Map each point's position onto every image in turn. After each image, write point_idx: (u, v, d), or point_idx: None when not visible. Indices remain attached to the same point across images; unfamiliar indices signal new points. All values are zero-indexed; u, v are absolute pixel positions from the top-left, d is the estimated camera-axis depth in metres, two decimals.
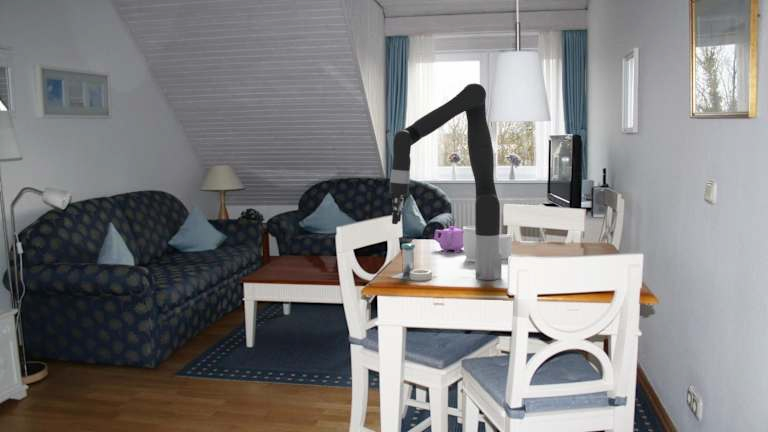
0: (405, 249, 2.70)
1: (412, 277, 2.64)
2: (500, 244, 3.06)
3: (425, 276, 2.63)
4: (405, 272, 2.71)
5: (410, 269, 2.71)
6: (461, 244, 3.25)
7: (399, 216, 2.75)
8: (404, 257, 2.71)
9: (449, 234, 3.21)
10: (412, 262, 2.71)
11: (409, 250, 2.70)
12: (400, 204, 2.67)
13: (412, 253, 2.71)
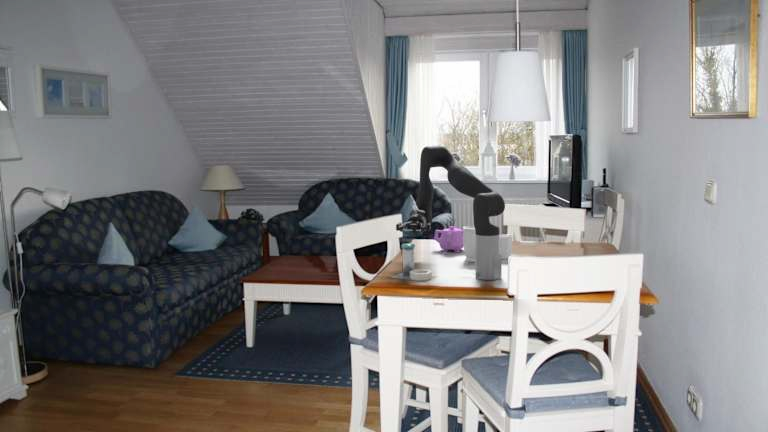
0: (405, 249, 2.70)
1: (412, 277, 2.64)
2: (500, 244, 3.06)
3: (425, 276, 2.63)
4: (405, 272, 2.71)
5: (410, 269, 2.71)
6: (461, 244, 3.25)
7: None
8: (404, 257, 2.71)
9: (449, 234, 3.21)
10: (412, 262, 2.71)
11: (409, 250, 2.70)
12: None
13: (412, 253, 2.71)
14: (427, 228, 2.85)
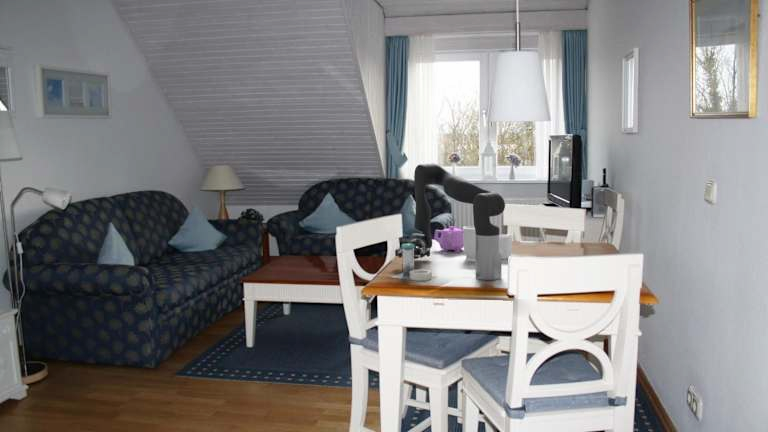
0: (405, 249, 2.70)
1: (412, 277, 2.64)
2: (500, 244, 3.06)
3: (425, 276, 2.63)
4: (405, 272, 2.71)
5: (410, 269, 2.71)
6: (461, 244, 3.25)
7: None
8: (404, 257, 2.71)
9: (449, 234, 3.21)
10: (412, 262, 2.71)
11: (409, 250, 2.70)
12: None
13: (412, 253, 2.71)
14: (426, 254, 2.81)
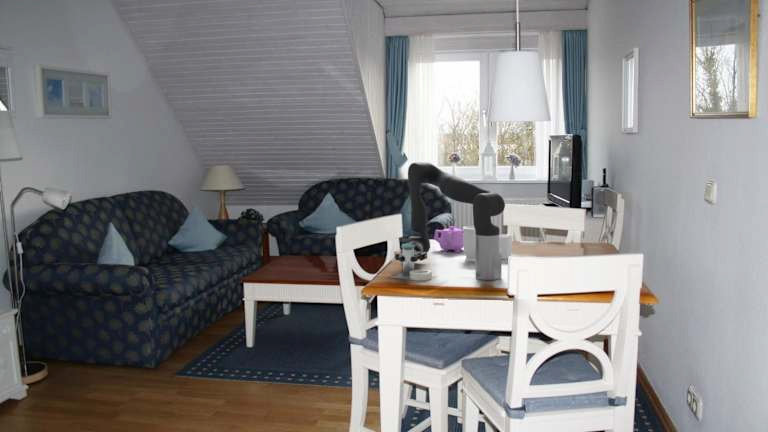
0: (405, 249, 2.70)
1: (412, 277, 2.64)
2: (500, 244, 3.06)
3: (425, 276, 2.63)
4: (405, 272, 2.71)
5: (410, 269, 2.71)
6: (461, 244, 3.25)
7: None
8: (404, 257, 2.71)
9: (449, 234, 3.21)
10: (412, 262, 2.71)
11: (409, 250, 2.70)
12: None
13: (412, 253, 2.71)
14: (419, 258, 2.73)
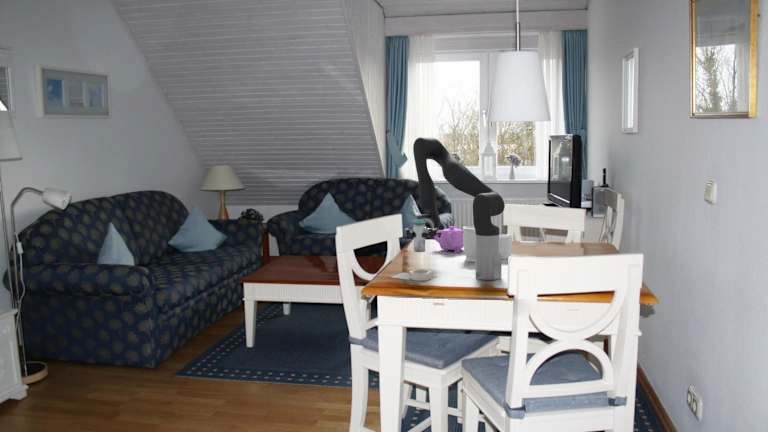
0: (416, 225, 2.62)
1: (412, 277, 2.64)
2: (500, 244, 3.06)
3: (425, 276, 2.63)
4: (416, 248, 2.63)
5: (421, 245, 2.63)
6: (461, 244, 3.25)
7: None
8: (415, 233, 2.62)
9: (449, 234, 3.21)
10: (423, 238, 2.63)
11: (420, 226, 2.61)
12: None
13: (423, 229, 2.62)
14: (431, 234, 2.65)
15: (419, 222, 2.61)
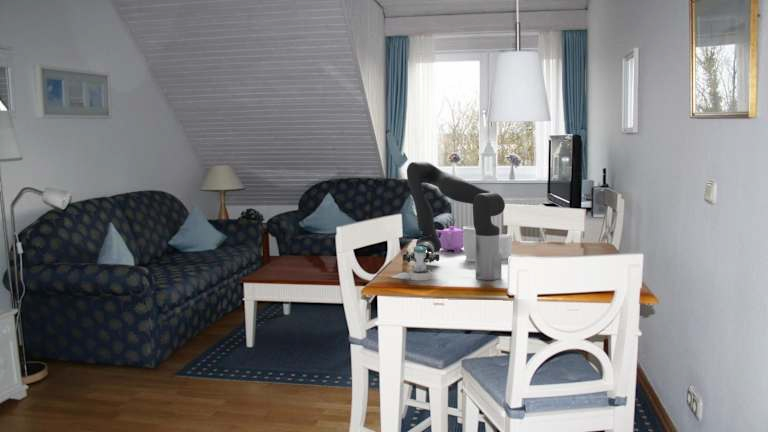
0: (417, 252, 2.63)
1: (412, 277, 2.64)
2: (500, 244, 3.06)
3: (425, 276, 2.63)
4: None
5: (422, 272, 2.64)
6: (461, 244, 3.25)
7: (429, 257, 2.65)
8: (416, 260, 2.64)
9: (449, 234, 3.21)
10: (424, 265, 2.64)
11: (421, 253, 2.63)
12: None
13: (424, 256, 2.64)
14: (436, 258, 2.66)
15: (420, 249, 2.62)
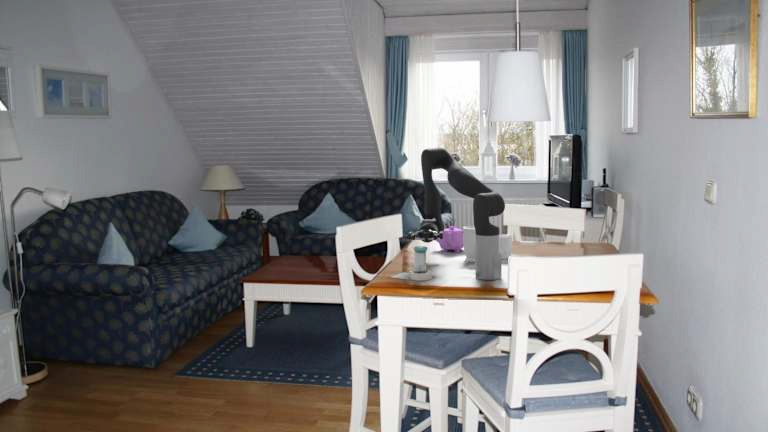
0: (417, 252, 2.63)
1: (412, 277, 2.64)
2: (500, 244, 3.06)
3: (425, 276, 2.63)
4: None
5: None
6: (461, 244, 3.25)
7: (434, 235, 2.78)
8: (416, 260, 2.64)
9: (449, 234, 3.21)
10: (424, 265, 2.64)
11: (421, 253, 2.63)
12: None
13: (424, 256, 2.64)
14: (440, 236, 2.79)
15: (420, 250, 2.62)
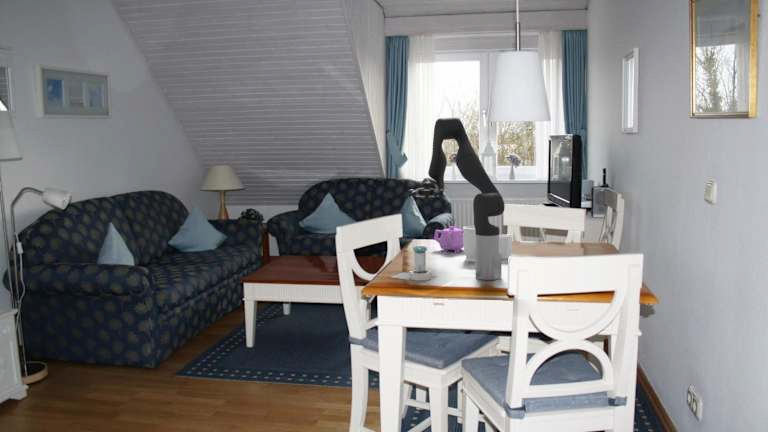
0: (417, 252, 2.63)
1: (412, 277, 2.64)
2: (500, 244, 3.06)
3: (425, 276, 2.63)
4: None
5: None
6: (461, 244, 3.25)
7: None
8: (416, 260, 2.64)
9: (449, 234, 3.21)
10: (424, 265, 2.64)
11: (421, 253, 2.63)
12: (419, 189, 2.86)
13: (424, 256, 2.64)
14: (440, 194, 2.81)
15: (420, 250, 2.62)
